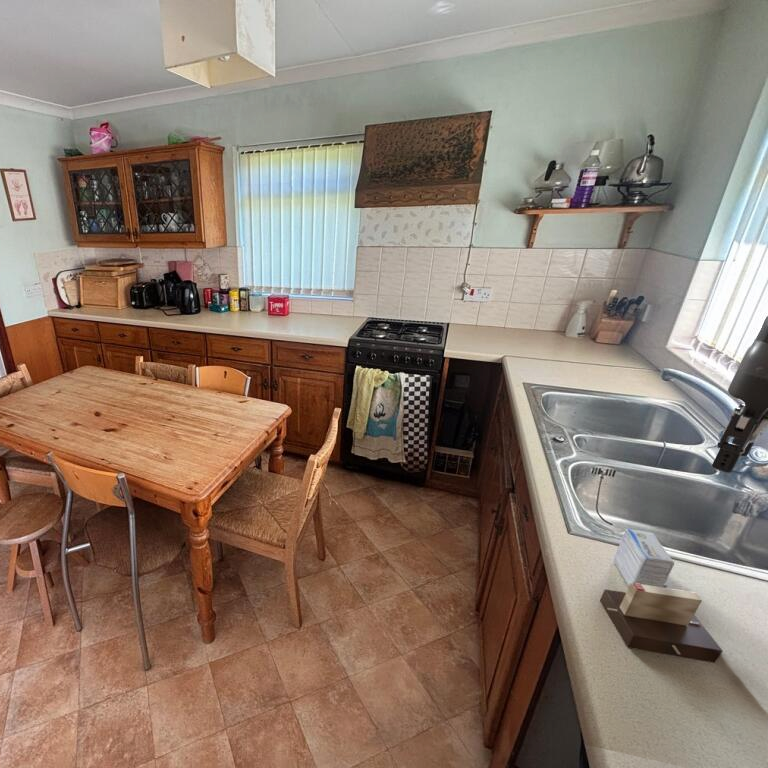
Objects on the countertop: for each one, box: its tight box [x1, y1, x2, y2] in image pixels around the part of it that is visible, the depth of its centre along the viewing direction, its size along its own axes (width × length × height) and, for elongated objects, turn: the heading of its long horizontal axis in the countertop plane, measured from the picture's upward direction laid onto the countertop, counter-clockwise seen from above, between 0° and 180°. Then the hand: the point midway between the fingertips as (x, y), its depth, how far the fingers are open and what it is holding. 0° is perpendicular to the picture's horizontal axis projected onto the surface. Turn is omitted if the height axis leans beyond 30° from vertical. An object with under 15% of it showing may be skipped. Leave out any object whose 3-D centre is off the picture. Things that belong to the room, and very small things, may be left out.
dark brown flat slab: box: [599, 584, 724, 664], centre depth 71 cm, size 14×13×3 cm
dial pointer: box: [620, 583, 703, 626], centre depth 69 cm, size 9×2×6 cm, turn 77°
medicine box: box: [612, 528, 675, 588], centre depth 79 cm, size 8×4×9 cm, turn 161°
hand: (729, 461), depth 69 cm, fingers open, 8 cm apart
